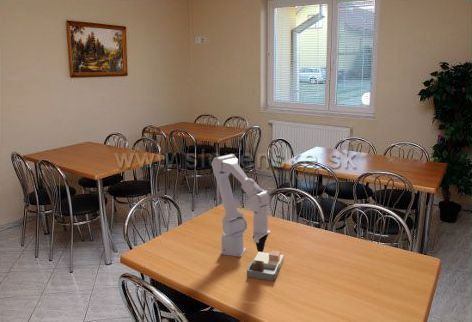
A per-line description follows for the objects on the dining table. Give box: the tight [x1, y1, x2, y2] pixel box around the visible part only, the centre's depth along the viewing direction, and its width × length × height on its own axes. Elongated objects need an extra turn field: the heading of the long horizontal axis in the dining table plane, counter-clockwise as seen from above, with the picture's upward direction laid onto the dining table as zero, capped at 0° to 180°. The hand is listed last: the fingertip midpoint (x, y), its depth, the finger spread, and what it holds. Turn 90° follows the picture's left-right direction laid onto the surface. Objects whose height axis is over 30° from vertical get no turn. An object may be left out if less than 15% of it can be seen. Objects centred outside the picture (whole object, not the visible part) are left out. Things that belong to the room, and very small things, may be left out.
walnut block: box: [252, 259, 264, 272], centre depth 160 cm, size 4×4×2 cm
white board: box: [253, 251, 285, 270], centre depth 167 cm, size 11×9×2 cm
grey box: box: [246, 259, 280, 282], centre depth 159 cm, size 11×9×3 cm
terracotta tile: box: [269, 250, 281, 261], centre depth 166 cm, size 4×4×2 cm
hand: (260, 251), depth 163 cm, fingers closed
